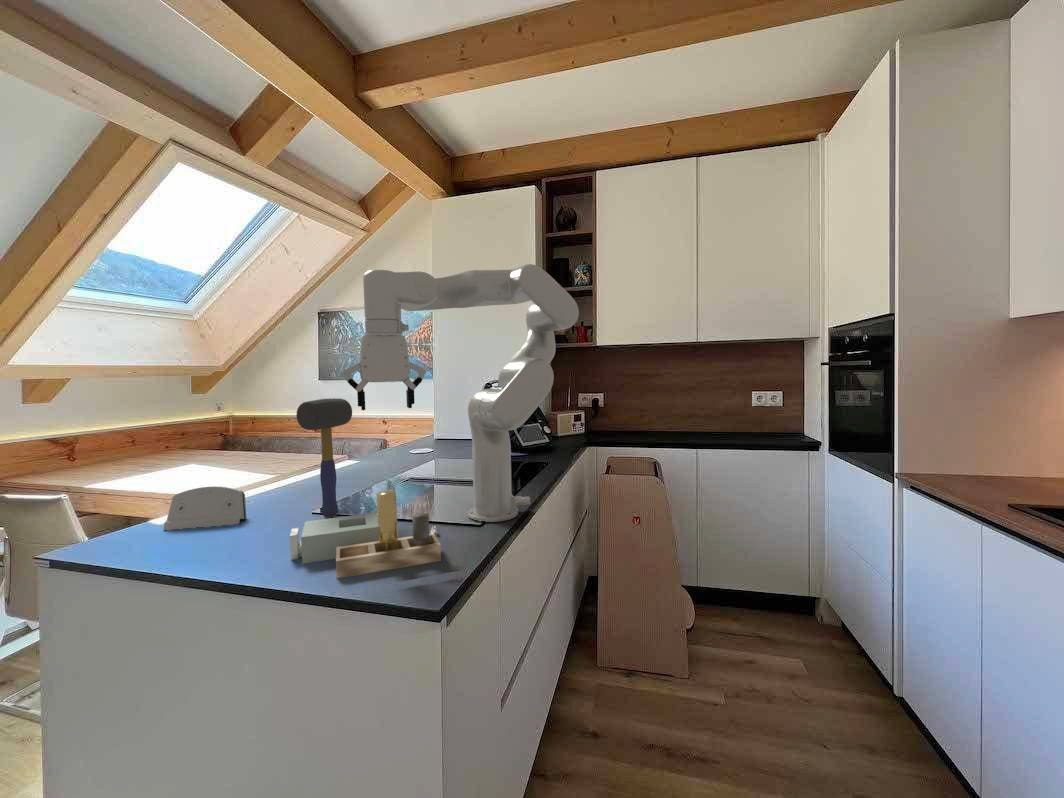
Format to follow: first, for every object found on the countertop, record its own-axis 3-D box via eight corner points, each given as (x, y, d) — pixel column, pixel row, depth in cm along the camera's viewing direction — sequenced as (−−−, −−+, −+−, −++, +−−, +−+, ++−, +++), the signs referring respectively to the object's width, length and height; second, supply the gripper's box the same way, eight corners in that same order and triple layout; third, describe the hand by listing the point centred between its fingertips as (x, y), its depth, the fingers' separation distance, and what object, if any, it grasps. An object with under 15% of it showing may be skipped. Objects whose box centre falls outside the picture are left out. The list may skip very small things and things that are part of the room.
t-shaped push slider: (337, 548, 97) (336, 522, 96) (337, 556, 92) (336, 529, 92) (293, 555, 93) (292, 528, 93) (291, 563, 89) (289, 535, 89)
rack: (434, 552, 94) (433, 508, 94) (441, 565, 88) (439, 518, 87) (337, 568, 88) (335, 520, 87) (336, 583, 81) (334, 532, 80)
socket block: (377, 539, 102) (376, 512, 102) (381, 556, 93) (380, 526, 92) (306, 550, 97) (305, 521, 97) (302, 568, 88) (301, 537, 87)
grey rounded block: (161, 530, 111) (166, 488, 113) (171, 531, 115) (176, 490, 118) (240, 524, 114) (243, 483, 117) (247, 525, 119) (250, 485, 122)
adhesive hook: (438, 542, 101) (438, 528, 101) (426, 544, 100) (425, 529, 100) (438, 537, 104) (438, 523, 104) (426, 538, 103) (425, 525, 103)
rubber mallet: (322, 526, 112) (316, 400, 110) (298, 523, 114) (292, 400, 112) (359, 511, 123) (354, 397, 121) (336, 508, 126) (331, 397, 124)
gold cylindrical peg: (398, 556, 90) (394, 489, 89) (399, 563, 87) (396, 493, 86) (379, 559, 89) (376, 491, 88) (380, 566, 85) (377, 496, 85)
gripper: (421, 331, 108) (424, 405, 109) (340, 330, 102) (344, 409, 103) (427, 328, 101) (429, 408, 102) (340, 327, 95) (344, 412, 96)
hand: (386, 408), depth 102 cm, fingers open, 9 cm apart
